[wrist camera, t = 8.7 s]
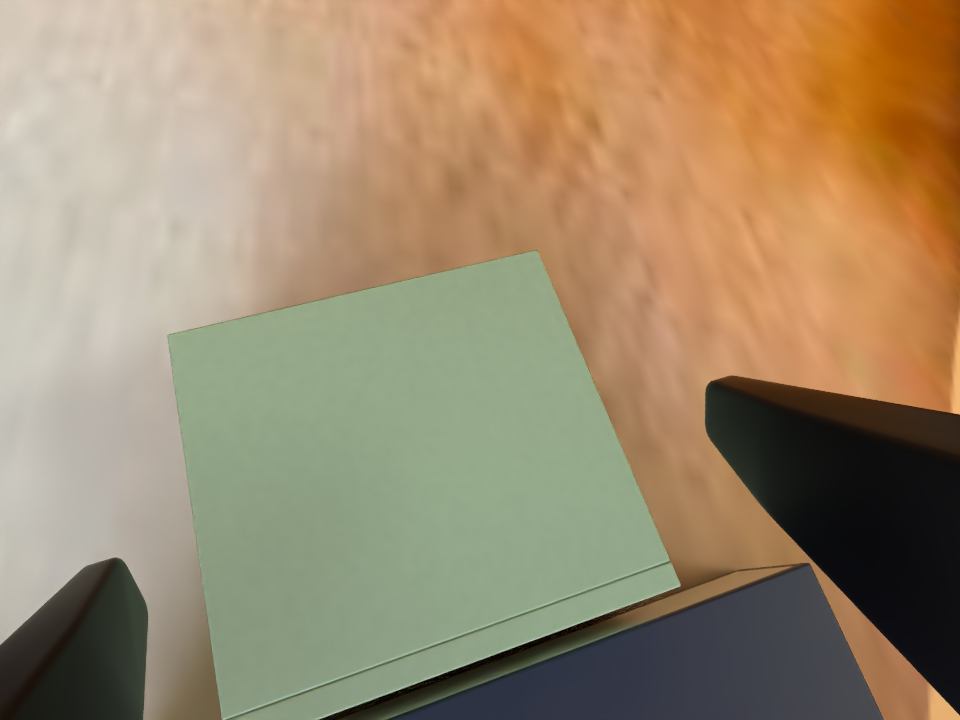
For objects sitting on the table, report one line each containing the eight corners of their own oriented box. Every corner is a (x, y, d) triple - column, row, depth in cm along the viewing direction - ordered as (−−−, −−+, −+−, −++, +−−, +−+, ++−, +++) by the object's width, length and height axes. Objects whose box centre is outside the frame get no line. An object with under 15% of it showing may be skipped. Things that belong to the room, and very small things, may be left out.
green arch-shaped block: (682, 585, 15) (537, 248, 19) (226, 753, 13) (166, 334, 16) (612, 602, 20) (511, 338, 24) (285, 721, 18) (229, 411, 22)
